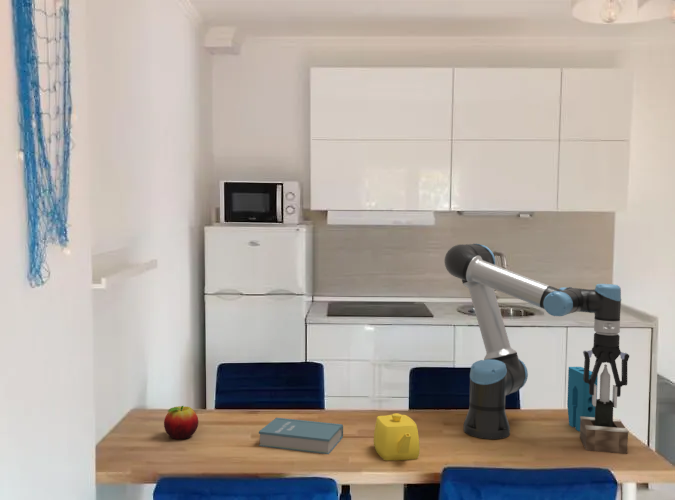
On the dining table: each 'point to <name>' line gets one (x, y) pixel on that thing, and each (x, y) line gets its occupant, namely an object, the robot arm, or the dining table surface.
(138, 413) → the dining table surface
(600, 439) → the holder
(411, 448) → the teapot
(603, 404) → the grey and black rod
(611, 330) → the robot arm
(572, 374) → the block
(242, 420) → the dining table surface
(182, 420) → the fruit
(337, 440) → the book
